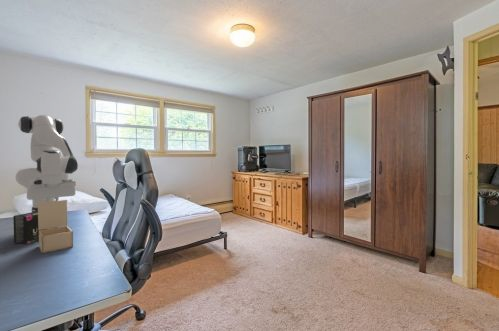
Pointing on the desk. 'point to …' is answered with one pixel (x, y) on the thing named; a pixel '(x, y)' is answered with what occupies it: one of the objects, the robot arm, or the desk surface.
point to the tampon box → (26, 228)
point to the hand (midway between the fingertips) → (52, 206)
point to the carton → (55, 239)
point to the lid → (52, 214)
